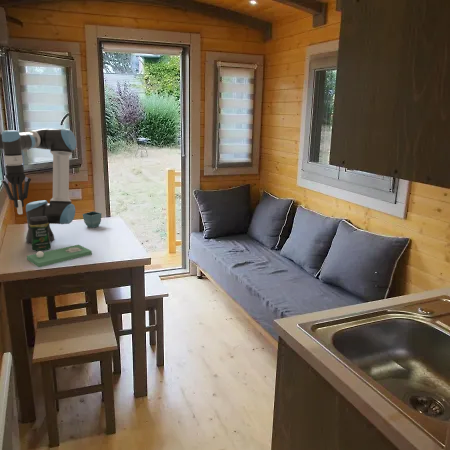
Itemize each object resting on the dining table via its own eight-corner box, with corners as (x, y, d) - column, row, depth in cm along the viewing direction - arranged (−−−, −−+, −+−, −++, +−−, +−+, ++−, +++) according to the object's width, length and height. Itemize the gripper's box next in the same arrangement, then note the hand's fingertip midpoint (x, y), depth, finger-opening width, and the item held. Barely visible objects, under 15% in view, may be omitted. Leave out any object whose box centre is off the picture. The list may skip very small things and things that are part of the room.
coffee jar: (32, 252, 229) (28, 219, 224) (31, 248, 236) (27, 215, 231) (51, 250, 233) (48, 217, 228) (50, 246, 240) (47, 214, 235)
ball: (35, 257, 216) (34, 251, 215) (42, 256, 218) (41, 249, 217) (38, 259, 213) (37, 252, 212) (45, 257, 216) (44, 251, 215)
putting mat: (27, 259, 219) (26, 255, 218) (78, 247, 237) (78, 244, 237) (38, 267, 208) (38, 263, 208) (91, 254, 227) (91, 250, 227)
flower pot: (92, 229, 274) (91, 215, 272) (83, 227, 279) (82, 213, 277) (102, 226, 281) (101, 213, 279) (93, 224, 286) (92, 211, 284)
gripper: (2, 166, 191) (8, 217, 197) (31, 164, 200) (37, 213, 206) (-4, 164, 196) (3, 214, 203) (25, 162, 205) (31, 210, 211)
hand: (20, 213), depth 204 cm, fingers closed
